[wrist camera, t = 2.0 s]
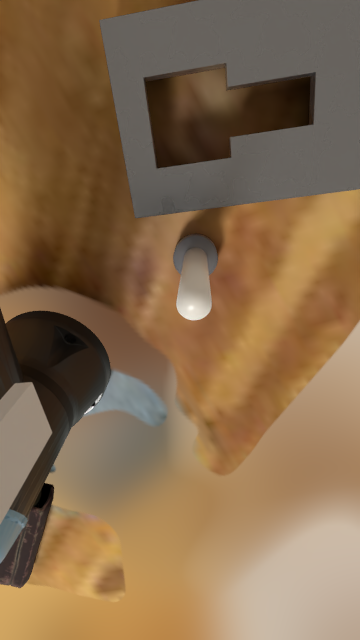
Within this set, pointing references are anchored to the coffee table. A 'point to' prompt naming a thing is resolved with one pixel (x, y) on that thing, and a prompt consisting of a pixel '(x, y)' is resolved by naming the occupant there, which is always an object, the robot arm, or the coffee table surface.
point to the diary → (27, 542)
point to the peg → (194, 275)
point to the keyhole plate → (241, 71)
